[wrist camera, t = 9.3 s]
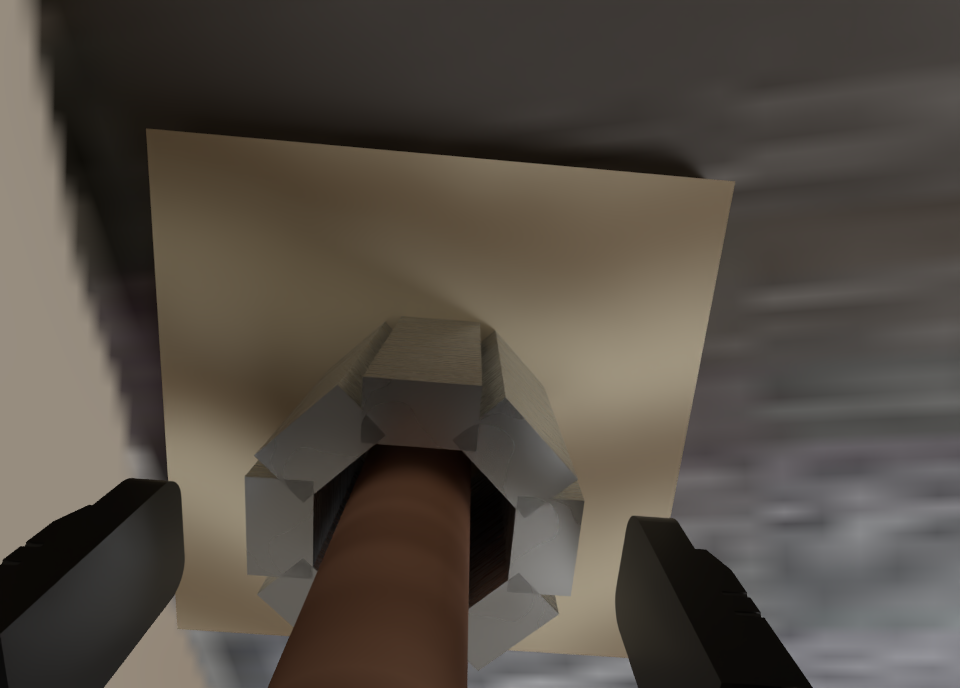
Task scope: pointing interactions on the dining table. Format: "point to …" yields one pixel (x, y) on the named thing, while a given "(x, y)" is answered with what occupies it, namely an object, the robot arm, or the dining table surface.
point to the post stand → (385, 298)
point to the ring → (430, 424)
